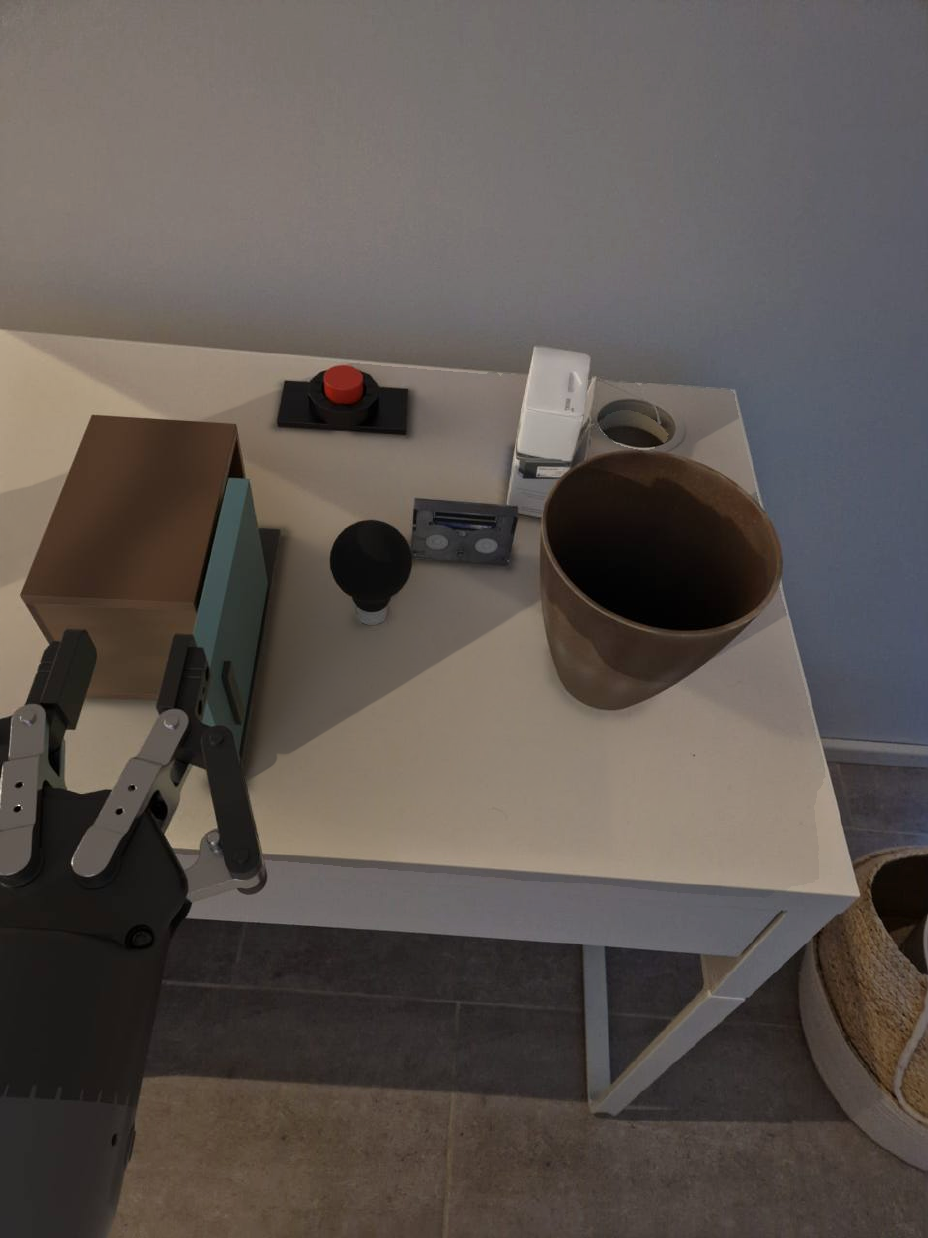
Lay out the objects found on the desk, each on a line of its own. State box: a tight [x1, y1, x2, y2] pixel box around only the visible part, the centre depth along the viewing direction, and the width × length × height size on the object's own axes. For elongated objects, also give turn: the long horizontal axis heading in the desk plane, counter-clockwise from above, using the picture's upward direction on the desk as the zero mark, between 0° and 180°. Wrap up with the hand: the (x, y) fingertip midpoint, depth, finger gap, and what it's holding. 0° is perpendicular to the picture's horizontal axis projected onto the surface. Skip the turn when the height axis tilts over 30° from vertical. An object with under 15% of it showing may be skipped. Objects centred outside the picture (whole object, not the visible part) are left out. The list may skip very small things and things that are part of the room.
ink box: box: [506, 345, 592, 519], centre depth 68 cm, size 8×5×12 cm, turn 172°
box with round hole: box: [571, 375, 662, 468], centre depth 74 cm, size 14×8×5 cm, turn 170°
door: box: [193, 478, 268, 753], centre depth 53 cm, size 2×17×11 cm, turn 1°
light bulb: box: [329, 519, 413, 626], centre depth 58 cm, size 6×6×10 cm
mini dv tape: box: [410, 497, 519, 567], centre depth 64 cm, size 8×2×6 cm, turn 89°
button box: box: [276, 369, 409, 436], centre depth 75 cm, size 12×6×2 cm, turn 91°
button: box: [324, 364, 363, 404], centre depth 74 cm, size 4×4×2 cm
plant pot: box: [539, 449, 784, 711], centre depth 55 cm, size 15×15×16 cm
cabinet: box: [19, 414, 282, 768], centre depth 55 cm, size 12×23×12 cm, turn 1°
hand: (134, 643), depth 34 cm, fingers open, 3 cm apart
